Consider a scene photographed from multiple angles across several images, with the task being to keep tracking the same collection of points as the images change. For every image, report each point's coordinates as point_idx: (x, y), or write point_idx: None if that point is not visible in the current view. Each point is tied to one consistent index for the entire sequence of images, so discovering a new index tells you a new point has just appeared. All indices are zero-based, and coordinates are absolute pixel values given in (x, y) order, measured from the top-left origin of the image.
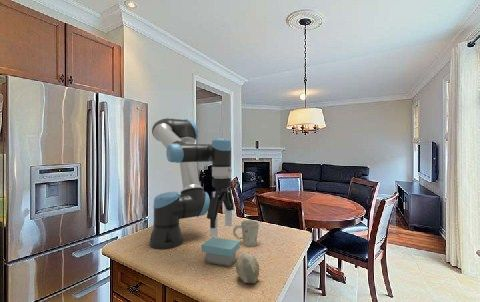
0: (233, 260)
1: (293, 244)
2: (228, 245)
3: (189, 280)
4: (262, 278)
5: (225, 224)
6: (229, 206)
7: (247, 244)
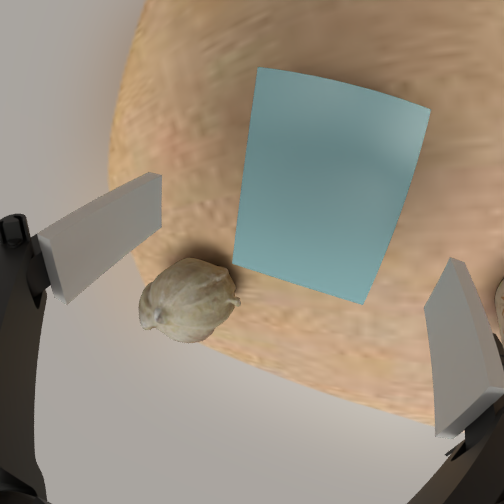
0: None
1: None
2: (285, 245)
3: (149, 88)
4: (229, 316)
5: (450, 267)
6: (425, 487)
7: (501, 286)
